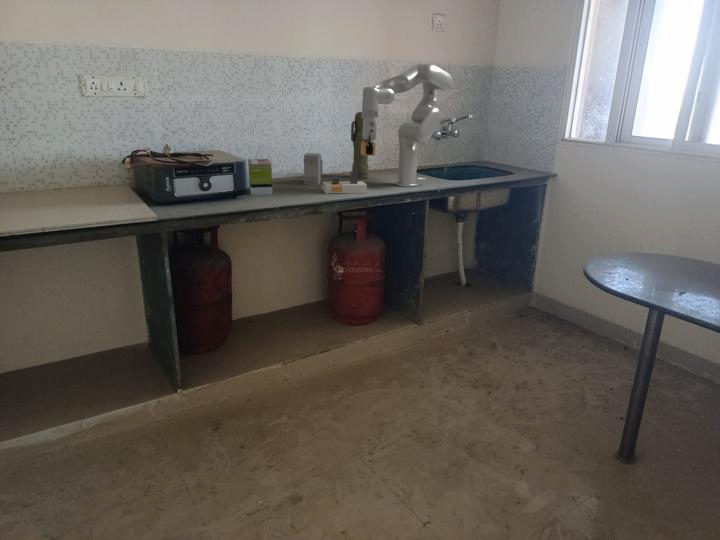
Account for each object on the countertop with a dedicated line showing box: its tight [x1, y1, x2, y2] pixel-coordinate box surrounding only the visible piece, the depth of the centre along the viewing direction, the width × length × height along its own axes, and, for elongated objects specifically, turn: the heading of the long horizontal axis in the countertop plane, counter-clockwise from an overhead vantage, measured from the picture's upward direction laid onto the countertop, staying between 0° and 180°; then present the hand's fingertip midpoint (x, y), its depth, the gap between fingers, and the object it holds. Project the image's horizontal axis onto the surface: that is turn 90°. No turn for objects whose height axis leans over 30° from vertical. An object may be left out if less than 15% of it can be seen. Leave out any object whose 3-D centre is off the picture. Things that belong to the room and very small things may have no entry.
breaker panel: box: [322, 180, 368, 195], centre depth 255 cm, size 20×10×4 cm, turn 102°
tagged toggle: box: [331, 176, 340, 184], centre depth 254 cm, size 3×3×7 cm
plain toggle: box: [349, 170, 358, 184], centre depth 255 cm, size 3×3×7 cm
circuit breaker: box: [303, 152, 323, 186], centre depth 274 cm, size 8×14×15 cm, turn 174°
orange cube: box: [361, 141, 377, 157], centre depth 253 cm, size 6×6×6 cm
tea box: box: [247, 158, 273, 196], centre depth 247 cm, size 15×10×15 cm, turn 14°
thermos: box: [350, 111, 369, 179], centre depth 289 cm, size 9×12×35 cm
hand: (367, 153), depth 254 cm, fingers closed on orange cube, 5 cm apart
